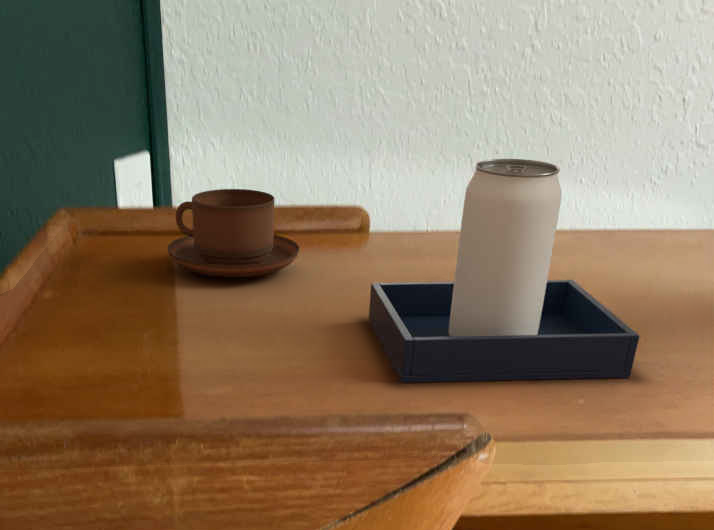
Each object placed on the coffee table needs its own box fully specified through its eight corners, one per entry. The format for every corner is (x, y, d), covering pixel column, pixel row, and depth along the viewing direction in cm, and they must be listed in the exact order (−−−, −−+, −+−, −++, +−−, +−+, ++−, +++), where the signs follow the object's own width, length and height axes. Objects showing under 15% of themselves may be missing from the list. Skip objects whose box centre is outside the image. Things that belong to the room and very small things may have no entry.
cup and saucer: (153, 283, 84) (149, 209, 81) (186, 248, 94) (183, 181, 91) (287, 291, 83) (289, 216, 79) (307, 255, 92) (309, 186, 89)
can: (443, 351, 69) (465, 172, 63) (451, 323, 75) (471, 155, 68) (535, 359, 68) (567, 178, 61) (536, 330, 73) (565, 160, 66)
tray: (565, 317, 78) (572, 279, 76) (630, 377, 67) (640, 335, 65) (368, 320, 76) (371, 282, 75) (401, 383, 66) (405, 340, 64)
